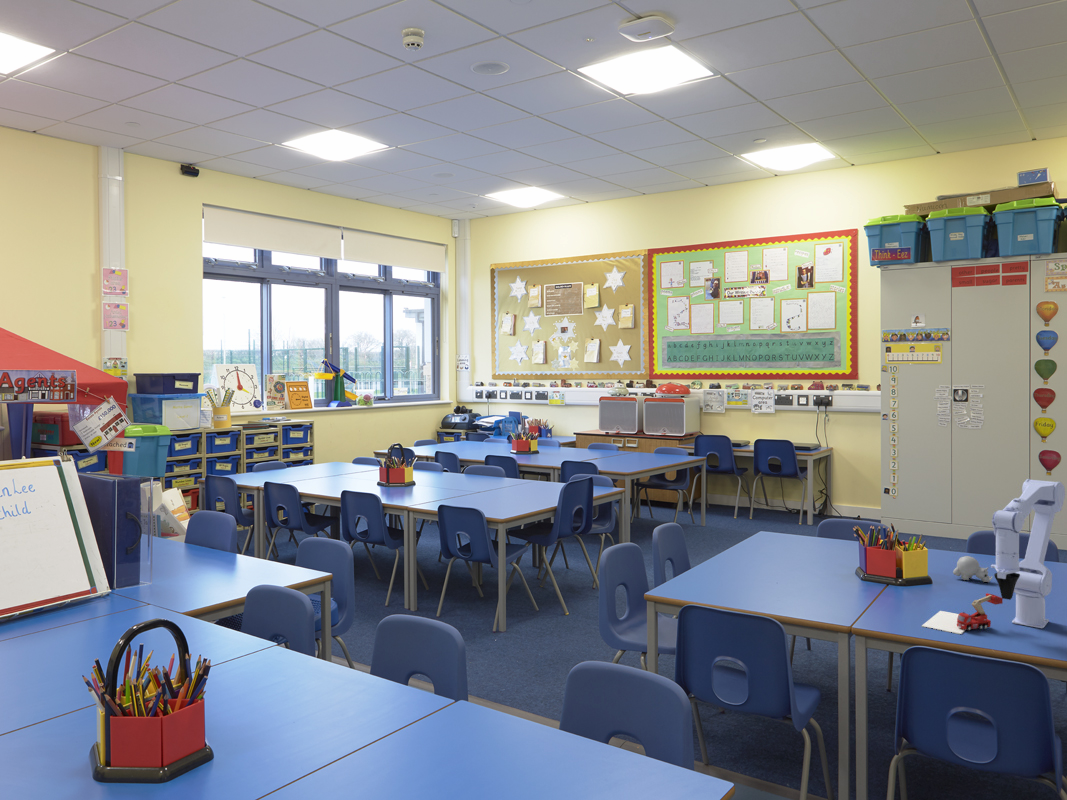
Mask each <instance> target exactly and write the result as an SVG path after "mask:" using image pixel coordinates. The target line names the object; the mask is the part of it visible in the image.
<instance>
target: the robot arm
mask: <svg viewBox="0 0 1067 800" xmlns="http://www.w3.org/2000/svg"><path fill="white" fill-rule="evenodd" d="M1021 487H1022V488H1021V492H1022V493H1021V495H1020V496H1019V497H1014V498H1013V499H1012V500H1011V501H1010V502H1009V503H1008V504H1007V505H1005V507H1004V508H1003V509H1002V510H1001V509H998V510H997V511H996V510H995V511H994V513H993V514H992V518H991V525H992V528H993V535H994V536H995V564H991V565H990V568H991V569H995V570H996V572H995V573H994V578H995V580H996V582H997V584H998V587H999V590H1000V595H1001V596H1000V597H1001V598H1003V599H1004V600H1009V601H1010V600H1012V598H1013V595H1014V594H1015V617H1014V618H1013V619H1012V621H1011V623H1012V624H1016V625H1021V626H1027V627H1032V628H1033V627H1034V628H1036V629H1044V628H1045V627H1046V625H1047V624H1048V623H1049V622H1050V621H1049V619H1047V618H1046V599H1045V597H1046V596H1048V595H1049V594H1050V593H1051V591H1052V589H1053V588H1052V586H1053V581H1052V580H1053V574H1052V571H1051V570H1050V569H1049V568H1048V567H1047V566H1046V565H1044V563H1045V559H1046V554H1047V551H1048V546H1049V541H1050V536H1051V532H1052V527H1053V524H1054V520H1055V516H1056V513H1059V512H1061V511H1062V509H1063V506H1064V501H1065V497H1066V491H1065V490H1066V489H1065V485H1064V484H1063V483H1062V481H1051V480H1041V479H1040V480H1039V479H1031V478H1026V480H1024V482H1023V483H1022V486H1021ZM1032 510H1033V511H1034V512H1035V513H1034V517H1033V522H1032V526H1031V530H1030V535H1029V538H1028V544H1027V547H1026V550H1025V556H1024V559H1022V560H1020V532H1021V531H1022V530H1023V527H1024V524H1025V522H1026V521H1025V519H1027V517H1028V516H1029V515H1031V512H1032Z"/></svg>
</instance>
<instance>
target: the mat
mask: <svg viewBox="0 0 1067 800" xmlns="http://www.w3.org/2000/svg"><path fill="white" fill-rule="evenodd" d="M958 615H959V613H954V612H949V611H943V610H939V611H938V612H937V613H936V614H934V615H933V616H932V617H930V618H929V619H928V620H927V621H925V622H924V623H923V624H922V625H921V628H926V627H927V629H931V628H933V629H932V630H936V629H937V630H936V631H941V630H942V631H941V632H946V633H951V632H952V634H957V635H960V634H961V635H962V634H963V633H965V631H966V630H965V629H962V628H959V627H958V626H957V618H958Z"/></svg>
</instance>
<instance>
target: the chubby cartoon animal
mask: <svg viewBox="0 0 1067 800" xmlns="http://www.w3.org/2000/svg"><path fill="white" fill-rule="evenodd" d="M988 570H989V567H981V566H980V563H979V561H978V560H977V559H975V557H973V556H968V555H965V556H961V557H959V559H958V560H957V562H956V567H955V568H954V569H953V571H952V573H953V575H955V576H957V577H960V578H961V579H962V580H963V581H965V580H968V581H969V580H970V579H969V578H971V579H973V576H976V578H977V579H980V580H981V582H983V583H984V582H988V583H990V582H991V580H992V579H993V575H991V576H990V575H989V571H988Z"/></svg>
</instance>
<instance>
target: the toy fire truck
mask: <svg viewBox="0 0 1067 800" xmlns="http://www.w3.org/2000/svg"><path fill="white" fill-rule="evenodd" d="M985 602H986V603H987V602H988V603H989V604H993V605H995V606H996V605H1001V604H1002V605H1003V598H1002V596H998V595H995V594H991V593H985V596H984V597H982V598H979V599H974V601H972V603H971V606H972V607H973V608H974V609H975V611H976V612H974V613H972V614H968V613H966V612H965V611H963V612H959V613H958V614H959V615H958V618H957V626H958V627H959V628H962V629H965V631H971V630H977V629H979V630H983V629H985V630H986V629H988V628H991V623H992V622H991V620H990V619H988V614H986V612H985V610H984V608H983V606H982V604H983V603H985Z"/></svg>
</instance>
